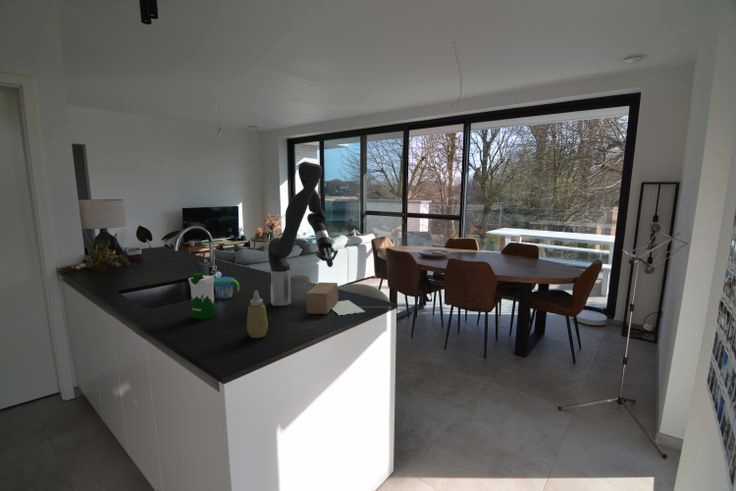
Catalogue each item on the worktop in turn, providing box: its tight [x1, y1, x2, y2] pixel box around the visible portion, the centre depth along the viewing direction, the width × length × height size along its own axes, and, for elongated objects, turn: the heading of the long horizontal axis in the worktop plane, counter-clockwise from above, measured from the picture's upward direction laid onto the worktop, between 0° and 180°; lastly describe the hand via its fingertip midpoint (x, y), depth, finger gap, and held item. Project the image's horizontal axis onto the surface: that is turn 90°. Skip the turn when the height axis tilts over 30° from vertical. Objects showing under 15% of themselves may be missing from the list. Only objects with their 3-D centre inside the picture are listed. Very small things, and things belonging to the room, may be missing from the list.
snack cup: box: [213, 276, 240, 300], centre depth 195 cm, size 16×10×10 cm
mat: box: [331, 300, 366, 317], centre depth 179 cm, size 13×20×1 cm, turn 26°
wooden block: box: [305, 281, 339, 315], centre depth 178 cm, size 10×10×20 cm
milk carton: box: [187, 272, 217, 320], centre depth 164 cm, size 9×9×20 cm
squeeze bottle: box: [246, 290, 269, 339], centre depth 142 cm, size 8×8×18 cm
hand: (330, 266), depth 193 cm, fingers closed
